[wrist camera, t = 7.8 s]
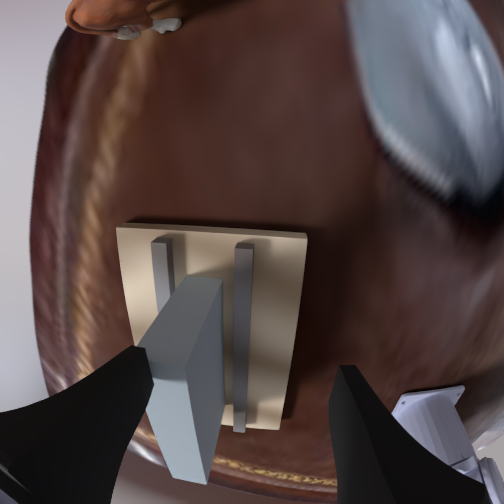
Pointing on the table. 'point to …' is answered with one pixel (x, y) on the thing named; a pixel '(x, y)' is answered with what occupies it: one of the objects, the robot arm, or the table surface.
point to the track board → (226, 302)
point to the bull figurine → (115, 18)
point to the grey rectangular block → (188, 376)
